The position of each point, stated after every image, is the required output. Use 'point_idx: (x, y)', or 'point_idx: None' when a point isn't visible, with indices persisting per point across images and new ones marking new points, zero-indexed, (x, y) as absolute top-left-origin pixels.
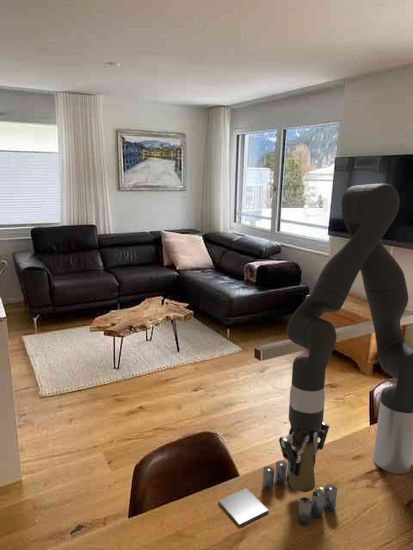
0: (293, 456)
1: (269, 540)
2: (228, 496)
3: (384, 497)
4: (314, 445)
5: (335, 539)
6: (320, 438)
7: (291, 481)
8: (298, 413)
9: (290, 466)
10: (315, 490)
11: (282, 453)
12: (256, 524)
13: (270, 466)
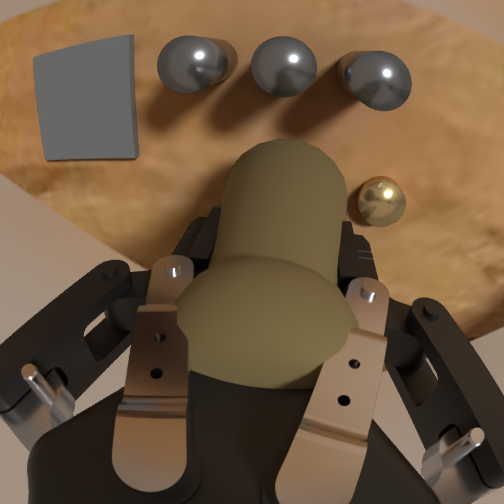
0: (117, 352)
1: (96, 226)
2: (60, 51)
3: (468, 309)
4: None
5: None
6: (417, 409)
7: (223, 193)
8: None
9: (182, 239)
10: (365, 183)
11: (73, 284)
12: (88, 172)
13: (210, 48)
